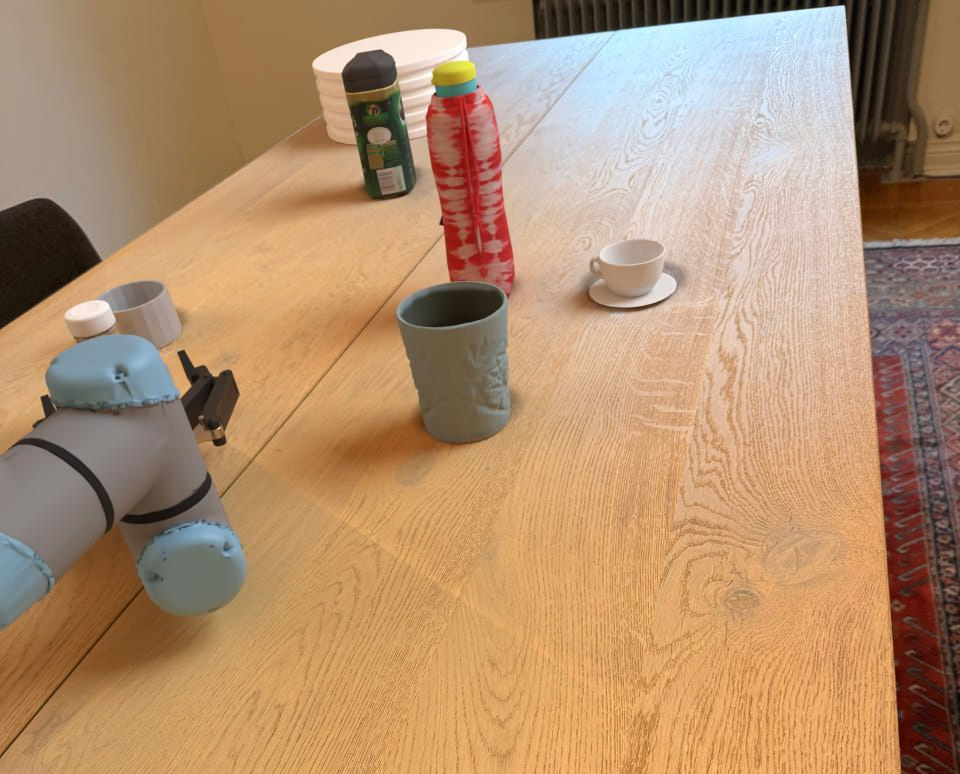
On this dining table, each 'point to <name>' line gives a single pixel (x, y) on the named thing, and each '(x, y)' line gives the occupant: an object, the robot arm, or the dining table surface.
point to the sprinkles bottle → (90, 320)
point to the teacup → (631, 274)
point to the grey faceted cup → (144, 311)
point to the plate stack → (414, 72)
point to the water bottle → (469, 177)
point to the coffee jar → (379, 123)
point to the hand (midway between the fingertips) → (118, 384)
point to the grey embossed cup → (458, 358)
